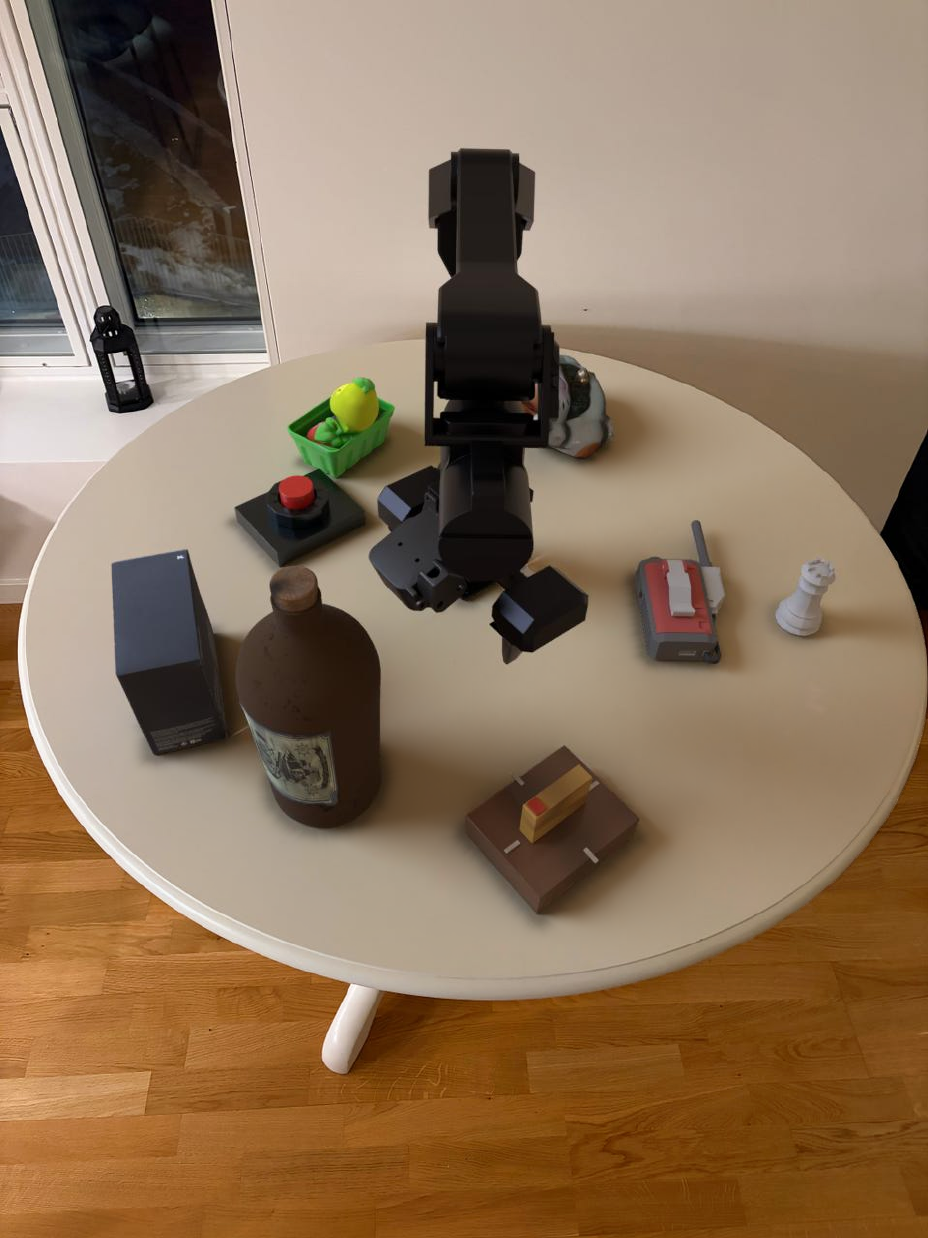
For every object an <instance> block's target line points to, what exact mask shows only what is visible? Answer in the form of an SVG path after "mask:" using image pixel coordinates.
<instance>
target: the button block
mask: <svg viewBox="0 0 928 1238" xmlns="http://www.w3.org/2000/svg"><path fill="white" fill-rule="evenodd" d="M302 476H304V477H307V478H309V479H310V480H311V481H312V483H313V488H314V496H315V498H314V501H313V503H312V504H311V505H310V506H307V507H305V508H303V509H289V508H287V507H285V506H284V505H283V504H282V502H281V498H280V492H279V485H280V483H281V482H282V481H283V480H284V479H281V480H279V481H277V482H275V483H274V484H273V485H272V486H271V487H270V489H269V490H268V491H267V492H264V493H262V494H260V495H258V496H256V497H253V498H251V499H249V500H247V501H244V502H242V503H240V504H238V505H236V506H234V508H233V509H234V513H235V517H236V522H237V523H238V524H239V526H240V527H241V528H242V529H243V530H244V531H245V532H246V533H247V534H248V535H249V537H251V538H252V540H253V541H255V543H256V544H257V545H258V546H259V547H260V548H261V549H262V550H263V551H264V552H265V554H267V556H268V557H269V558H270V559H271V560H272V561H273V563H275V565H276V566H278V567H279V568H283V567H284V566H286V565H288V564H290V563H292V562H294V561H296V560H298V559H300V558H301V557H304V556H306V555H307V554H310V553H312V552H314V551H315V550H317V549H320V548H322V547H324V546H326V545H328V544H330V543H332V542H334V541H336V540H338V539H340V538H343V537H344V536H345V535H347V534H350V533H351V532H354V531H355V530H358V529H360V528H362V527H363V526H366V512H365V509H364V508H363V507H362V506H361V505H360V504H359V503H358V502H356V500H355V499H354V498H352V497H351V496H350V495H349V494H348V493H347V492H346V491H345V490H344V489H342V487H340V486H339V484H337V483H336V481H334V480H333V479H332V478H331V477H329V476H328V474H327V473H325V472H323V471H322V470H321V469H320V468H319V469H317V468H316V469H314V470H312V471H309V472H308V473H306V474H304V475H302Z"/></svg>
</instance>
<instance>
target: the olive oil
mask: <svg viewBox="0 0 928 1238" xmlns="http://www.w3.org/2000/svg"><path fill="white" fill-rule="evenodd" d="M318 582H319V581H318V577H317V575H316V573H315V572H314V571H313V570H311V569H310V568H309V567H305V566H302V565H289V566H285V567H281V569H279V570H277V571H276V572H275V573H274V574H273V575H272V576H271V578H270V580H269V585H268V586H269V591H270V597H269V601H270V604H271V610H272V611H271V612H270V613H267V615H265V616H263V617H262V618H261V619H259V621H258V622H257V623H256V624H255V625H254V626H253V627H251V629H250V630H249V632H248V633H247V635H246V636H245V638H244V640H243V642H242V643H241V645H240V649H239V653H238V655H237V661H236V666H235V667H236V668H235V687H236V691H237V695H238V698H239V701H238V703H239V705H240V708H241V709H242V710H243V713H244V715H245V718H246V720H247V723H248V726H249V728H250V731H251V734H252V736H253V737H252V738H253V740H254V742H255V745H256V747H257V750H258V754H259V756H260V759H261V761H262V764H263V767H264V770H265V773H266V776H267V780H268V782H269V785H270V788H271V791H272V794H273V797H274V800H275V802H276V804H277V805H278V807H279V808H280V809H281V811H282V812H284V814H285V815H286V816H288V817H289V818H291V819H292V820H293V821H295V822H297V823H299V824H302V825H304V826H308V827H311V828H312V827H313V828H331V827H337V826H340V825H343V824H347V823H349V822H351V821H353V820H355V819H356V818H358V817H359V816H360V815H362V814H363V813H364V812H365V811H366V810H367V809H368V808H369V807H370V806H371V805H372V804H373V802H374V801H375V799H376V798H377V795H378V793H379V789H380V787H381V783H382V782H381V780H382V760H381V758H382V757H381V687H382V686H381V685H382V684H381V683H382V681H381V680H382V673H381V672H382V669H381V661H380V657H379V654H378V650H377V647H376V645H375V644H374V641H373V640H372V638H371V636H370V634H369V633H368V631H367V630H366V628H365V627H364V626H363V625H362V623H361V622H360V621H359V620H357V619H356V618H355V616H353V615H351V614H350V613H349V612H347V611H345V610H343V609H341V608H338V607H336V606H333V605H330V604H326V603H323V597H322V590H321V588H320V587H319V583H318Z"/></svg>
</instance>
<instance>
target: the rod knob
mask: <svg viewBox="0 0 928 1238" xmlns="http://www.w3.org/2000/svg"><path fill="white" fill-rule="evenodd" d="M591 781H592V776H591V775H590V774H588V773H587V772H586V771H585V770H584V769H583V768H582V767H581V766H580V765H579V764H578V765H577V766H576V767H574V768H573V769H571V770H570V771H569V772H567V773H566V774H565V775H563V776H562V777H561V778H559V779H558V780H556V781H555V782H554V783H552V784H551V785H550V786H548V787H547V788H545V789H544V790H543V791H541V792H540V793H539V794H537V795H536V796H535V797H533V798H532V799H530V800H529V801H528V802H526V803H525V804H524V805H523V808H522V815H521V822H520V828H519V830H520V831H521V832H522V833H523V834H524V835H525V837H526V838H527V839H528V840H529V841H530V842H531V843H534V842H535V841H537V840H538V839H539V838H540V837H542V836H543V835H544V834H546V833H547V832H548V831H550V830H551V829H552V828H554V827H555V826H556V825H558V824H559V823H560V822H562V821H563V820H564V819H565V818H567V817H568V816H569V815H571V814H572V813H573V812H575V811H576V810H577V809H579V808H580V807H581V806H583V805H584V804H585V803H586V801H587V797H588V793H589V789H590V785H591Z"/></svg>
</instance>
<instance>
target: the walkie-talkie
mask: <svg viewBox="0 0 928 1238" xmlns="http://www.w3.org/2000/svg"><path fill="white" fill-rule="evenodd" d="M690 526H691V530H692V534H693V538H694V544H695V547H696V551H697V552H696V553H697V555H698V560H699V562H698V561H696V560H694V559H691V558H689V559H688V558H662V557H659V556H651V557H649V558H645V559H640V561H639V562H638V564H637V568H636V570H635V574H634V583H635V588H636V589H635V590H636V595H637V601H638V606H639V610H640V614H641V615H640V618H641V623H642V627H643V629H642V630H643V634H644V639H645V640H644V642H645V647H646V651H647V655H648V657H650V658H652V660H655V661H656V660H659V661H702V662H703V661H704V662H706V664H709V665H713V666H714V665H717V664H719V663H720V661H721V659H722V651H721V646H720V643H719V637H718V633H717V629H716V625H715V622H716V621H717V617H718V614H719V610H720V609H721V608H722V606H723V603H724V601H725V597H726V592H725V588H724V584H723V581H722V577H721V575H722V570H721V567H720V566H714V565H713V562H712V561H711V559H710V556H709V552H708V548H707V544H706V543H707V542H706V539H705V536H704V531H703V527H702V524H701V521H700V520H698V519H694V520H692V521H691V524H690ZM714 653H715V657H713V656H714Z"/></svg>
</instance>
